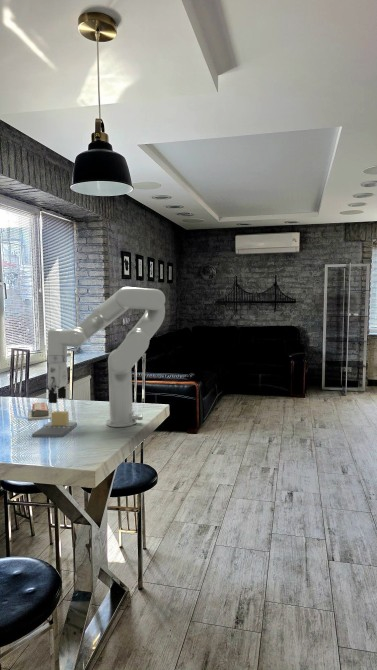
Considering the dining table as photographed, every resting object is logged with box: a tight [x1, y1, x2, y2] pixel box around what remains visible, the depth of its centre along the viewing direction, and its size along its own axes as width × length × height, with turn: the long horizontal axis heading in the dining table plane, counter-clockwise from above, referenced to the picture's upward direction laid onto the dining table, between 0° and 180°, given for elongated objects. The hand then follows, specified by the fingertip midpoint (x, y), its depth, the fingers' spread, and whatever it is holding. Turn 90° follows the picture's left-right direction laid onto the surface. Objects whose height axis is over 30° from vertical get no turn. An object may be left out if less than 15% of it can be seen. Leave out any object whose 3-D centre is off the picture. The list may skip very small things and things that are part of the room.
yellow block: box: [42, 410, 78, 430], centre depth 181 cm, size 12×6×6 cm, turn 85°
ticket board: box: [31, 426, 73, 438], centre depth 173 cm, size 12×10×1 cm
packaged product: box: [27, 402, 52, 421], centre depth 203 cm, size 18×5×10 cm
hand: (57, 400), depth 180 cm, fingers open, 9 cm apart
